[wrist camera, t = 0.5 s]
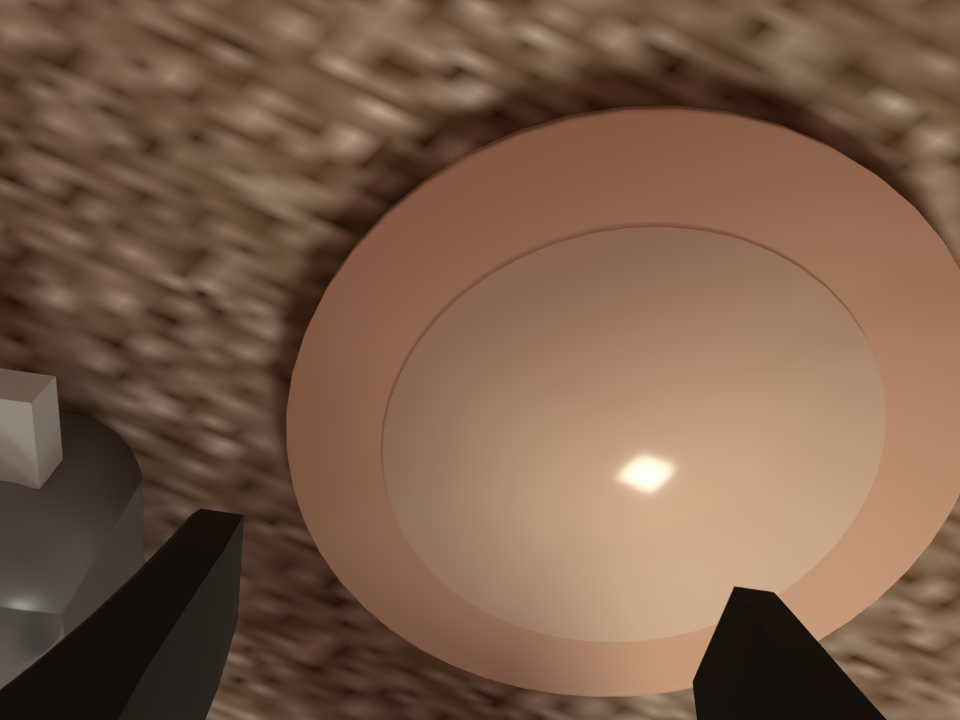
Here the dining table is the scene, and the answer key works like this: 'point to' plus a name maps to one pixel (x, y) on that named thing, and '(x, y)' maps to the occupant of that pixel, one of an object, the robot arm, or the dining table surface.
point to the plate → (628, 396)
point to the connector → (59, 519)
